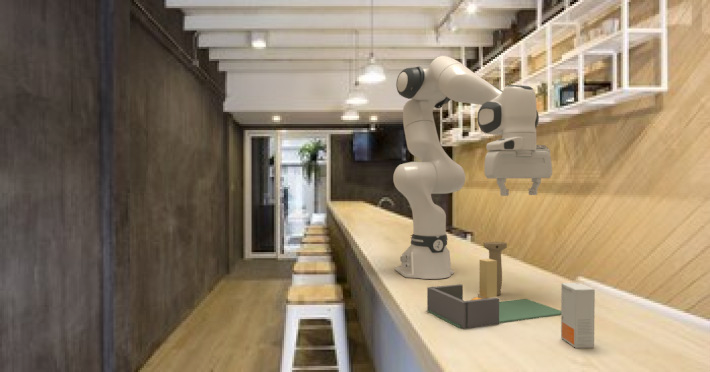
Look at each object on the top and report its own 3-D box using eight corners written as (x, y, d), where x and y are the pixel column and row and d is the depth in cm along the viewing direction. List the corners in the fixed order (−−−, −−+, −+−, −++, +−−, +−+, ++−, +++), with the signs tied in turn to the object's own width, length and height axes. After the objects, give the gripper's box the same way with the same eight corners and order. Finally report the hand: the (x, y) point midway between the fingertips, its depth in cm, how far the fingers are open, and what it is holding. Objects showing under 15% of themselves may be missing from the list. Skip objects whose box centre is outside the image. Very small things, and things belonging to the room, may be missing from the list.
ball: (463, 304, 126) (473, 292, 127) (472, 314, 127) (482, 302, 128) (472, 308, 123) (482, 296, 124) (481, 319, 124) (491, 306, 125)
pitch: (427, 311, 129) (427, 309, 129) (525, 300, 140) (525, 298, 140) (459, 328, 115) (459, 326, 115) (566, 314, 126) (566, 312, 126)
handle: (508, 296, 144) (508, 244, 144) (485, 296, 144) (485, 244, 144) (504, 292, 149) (504, 241, 148) (482, 292, 149) (482, 241, 149)
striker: (475, 307, 129) (476, 258, 129) (485, 306, 130) (486, 257, 130) (490, 314, 123) (490, 262, 123) (500, 312, 124) (500, 261, 124)
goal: (427, 310, 130) (427, 287, 130) (460, 306, 133) (460, 284, 133) (463, 329, 114) (463, 302, 114) (499, 324, 118) (499, 298, 118)
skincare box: (560, 338, 108) (560, 282, 107) (579, 338, 108) (579, 282, 108) (574, 348, 102) (575, 289, 101) (595, 348, 102) (595, 288, 102)
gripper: (541, 145, 144) (541, 194, 144) (481, 144, 137) (480, 195, 137) (557, 144, 138) (557, 195, 139) (495, 143, 131) (495, 196, 131)
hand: (518, 195), depth 138 cm, fingers open, 8 cm apart
